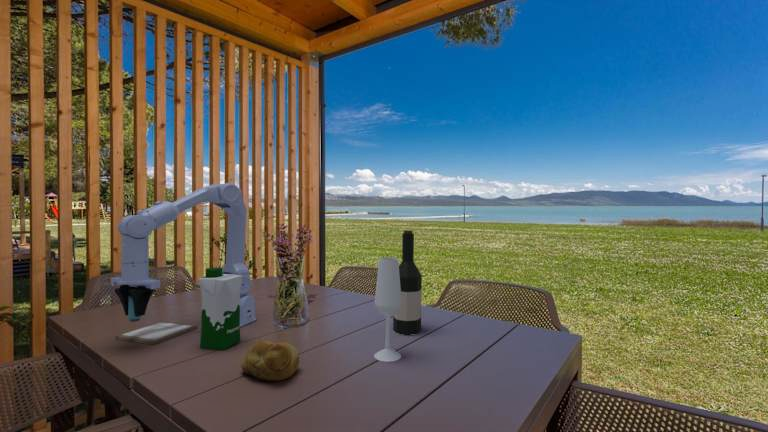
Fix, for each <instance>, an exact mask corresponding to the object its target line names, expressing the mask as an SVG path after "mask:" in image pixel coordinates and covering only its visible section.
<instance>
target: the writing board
mask: <svg viewBox="0 0 768 432" xmlns="http://www.w3.org/2000/svg"><path fill="white" fill-rule="evenodd" d="M197 329H198V326H197V325H193V324H185V323H179V322H178V323H177V322H169V321H168V322H167V321H163V320H161V321H157V322H155V323H152V324H151V323H150V324H148V325H145V326H142V327H139V328H136V329H133V330H129V331H127V332H124V333H121V334H116V335H115V336H114V338H115V340H121V341H127V342H133V343H140V344H146V345H151V346H155V345H158V344H160V343H163V342H166V341H168V340H172V339H173V338H176V337H179V336H182V335H184V334H186V333H189V332H192V331H195V330H197Z"/></svg>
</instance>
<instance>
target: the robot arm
mask: <svg viewBox="0 0 768 432" xmlns="http://www.w3.org/2000/svg"><path fill="white" fill-rule="evenodd" d="M205 202H206V203H210V204H213V205H214V206H217V207H219V208H221V209H222V211H224V212H225V213H226V214H227V227H226V229H227V230H226V253H225V254H226V255H225V264H224V266H222V267H221V268H222V274H234V275H242V281H241V288H240V328H241V327H244V326H246V325H248V324H250V323H252V322H255V321H257V318H256V300H255V298H254V296H252V295H249V294H248V292H250V290H251V287H252V279H251V277H250V270H249V268H248V267H247V265H246V264H245V258H246V257H245V254H246V253H245V252H246V234H247V231H246V230H247V229H246V228H247V212H248V211H247V210H248V209H247V206H246V204H245V201H244V199H243V190H242V189H241V188H240V187H239V186H238V185H236V184H235V183H233V182H226V183H212V184H210V185H206V186H202V187H201V188H198V189H196V190H194V191H192V192H191V193H189V194H187V195H185V196H183V197H181V198H178V199H176V200H175V201H173V202H170V201H167V200H163V201H161V200H158V201H155V202H154V205H152V206H150V207H148V208H146V209H143V210H142V209H139V210H136V215H135V214H134V215H128V216H124V217H123V218H122V219H121V221H120V222H119V224H118V225H117V230H118V233H119V234H120V235H121V276H115V277H110V285H111V286H119V287H118V288H114V293H115V294H116V295H117V296H118V299H119V300H120V302H121V305H122V308H123V313H124V315H125V316H128V296H129V295H131V296H132V299H133V304H134V314H135V317H138V316H142V317H143V316H145V315H146V311H147V307H148V305H149V301H150V299H151V297H152V295H153V294H154V292H155V291H156V289H160V288H161V280H160V279H154V278H152V277H149V274H150V273H149V272H150V271H149V270H150V269H149V265H150V264H149V255H150V254H149V249H150V247H149V245H150V244H149V236H150V235H151V234H152V233H153V231H155V230H158V229H160V228H162V227H164V226H166V225H167V224H170V223H172V222H173V221H175V220H177V219H178V216H179V213H181V212H184V211H186V210H188V209H191V208H193V207H195V206H198V205H199V204H202V203H205Z"/></svg>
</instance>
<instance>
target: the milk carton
mask: <svg viewBox="0 0 768 432" xmlns="http://www.w3.org/2000/svg"><path fill="white" fill-rule="evenodd" d="M222 268H223V267H209V268H205V276H202V277H199V278H198V284H199V288H200V293H201V322H200V323H201V324H200V325H201V328H200V339H199V340H200V341H199V348H200V349H208V350H218V351H225V350H227V349H228V348H230V347H232V346H234V345H235V344H238V343H239V342H240V341H241V327H240V288H241V281H242V275H234V274H222Z"/></svg>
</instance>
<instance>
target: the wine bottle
mask: <svg viewBox="0 0 768 432" xmlns="http://www.w3.org/2000/svg"><path fill="white" fill-rule="evenodd" d="M401 237H402V241H401V244H402V245H401V249H402V250H401V251H402V252H401V262H400V264H399V275H400V287H401V300H402V305H401V307H400V309H399V310H398V311H397V312H396V313H395V314H394V315H393V316H392V321H393V322H392V325H393V326H392V330H394V331H395V332H396V333H399V334H398V335H401V334H404V335H403V336H406V335H407V336H412V335H411V334H417V333H418V334H419V332H420V331H421V332H422V290H423V289H422V287H423V286H422V282H423V281H422V279H423V278H422V273H421V272H420V270H419V268H418V267H417V265H416V263H415V262H414V259H415V258H414V257H415V255H414V251H415V250H414V249H415V248H414V247H415V244H414V242H415V241H414V239H415V238H414V237H415V234H414V233H413V230H403V233H402V235H401ZM395 332H394V333H395ZM421 332H420V333H421ZM396 333H395V334H396ZM418 334H417V335H418Z"/></svg>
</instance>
